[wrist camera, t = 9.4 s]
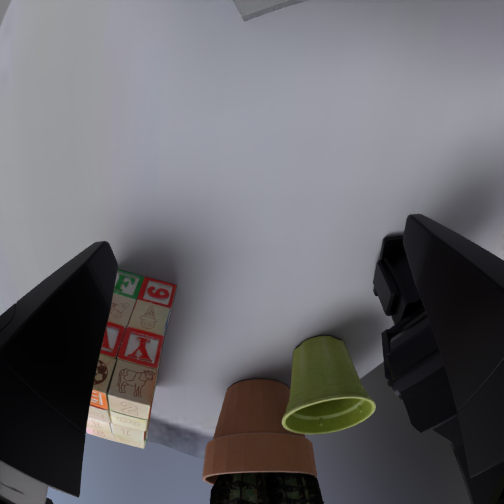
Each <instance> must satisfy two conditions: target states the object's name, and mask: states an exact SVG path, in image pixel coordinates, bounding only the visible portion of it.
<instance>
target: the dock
mask: <svg viewBox="0 0 504 504" xmlns="http://www.w3.org/2000/svg"><path fill="white" fill-rule="evenodd" d="M233 1H234V3H235V5H236V7H237V8H238V10H239V12H240V14H241V16H242V18H243V20H244V21H247V20H249V19H252V18H254V17H257V16H260V15H263V14H265V13H268V12H271V11H274V10H277V9H280V8H283V7H286V6H289V5H293V4H296V3H299V2H303V1H306V0H233Z"/></svg>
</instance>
